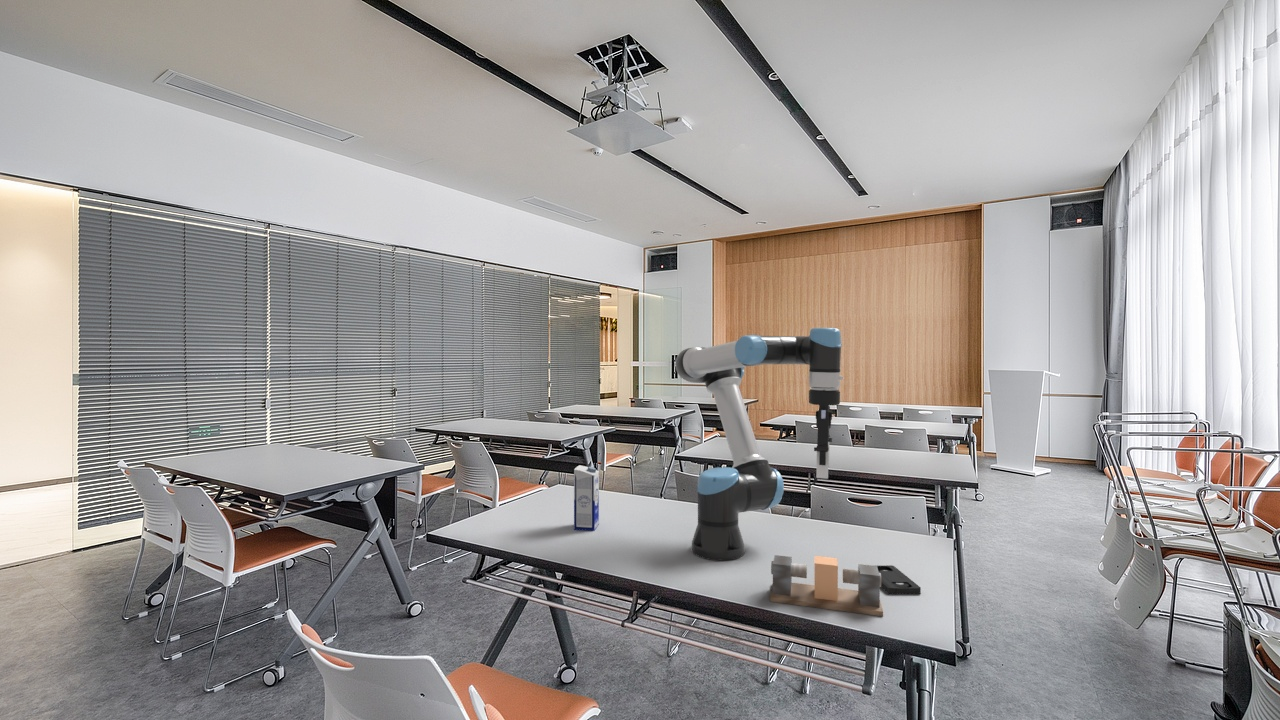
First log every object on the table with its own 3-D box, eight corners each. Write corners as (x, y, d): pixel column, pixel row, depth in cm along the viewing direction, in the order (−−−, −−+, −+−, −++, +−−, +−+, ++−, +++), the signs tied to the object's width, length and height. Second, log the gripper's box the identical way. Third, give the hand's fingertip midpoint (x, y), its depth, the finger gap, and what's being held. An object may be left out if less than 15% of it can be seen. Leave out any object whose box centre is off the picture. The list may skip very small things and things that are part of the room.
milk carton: (579, 523, 187) (579, 464, 187) (598, 524, 186) (598, 464, 186) (573, 530, 180) (573, 468, 180) (594, 531, 179) (594, 469, 179)
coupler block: (837, 601, 126) (837, 565, 126) (814, 598, 127) (814, 563, 127) (836, 592, 130) (837, 558, 130) (814, 589, 132) (814, 555, 132)
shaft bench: (769, 601, 128) (769, 566, 128) (773, 584, 137) (773, 552, 137) (883, 616, 120) (883, 579, 120) (878, 597, 130) (878, 563, 130)
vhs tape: (921, 596, 132) (921, 587, 132) (888, 596, 132) (888, 588, 132) (893, 572, 146) (893, 565, 146) (863, 573, 146) (863, 565, 146)
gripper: (840, 393, 128) (838, 484, 128) (840, 386, 151) (838, 463, 152) (806, 391, 130) (804, 481, 131) (811, 385, 154) (809, 461, 154)
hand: (823, 472), depth 141 cm, fingers open, 13 cm apart
